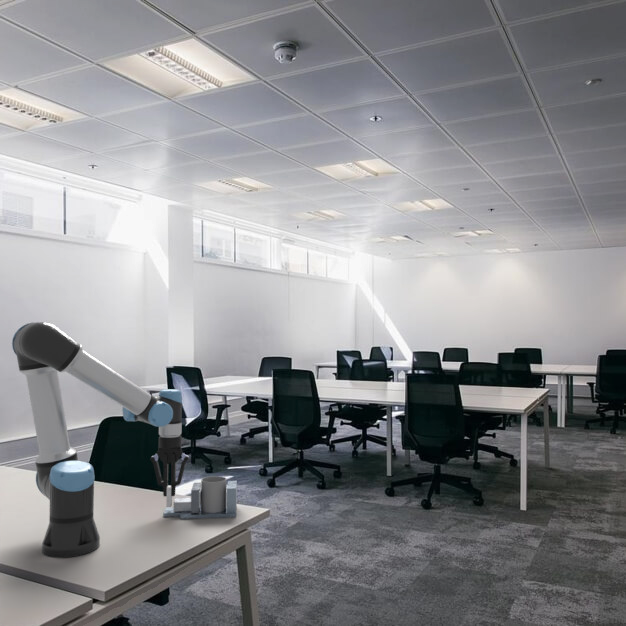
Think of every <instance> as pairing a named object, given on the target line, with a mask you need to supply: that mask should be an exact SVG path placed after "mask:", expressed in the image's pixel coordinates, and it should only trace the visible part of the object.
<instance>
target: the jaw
mask: <svg viewBox="0 0 626 626" xmlns="http://www.w3.org/2000/svg"><path fill="white" fill-rule="evenodd" d="M200 506H201V481H200V482H193V484H192V487H191V489H190V497H176V498H175V499H174V500H173V508H174V509H173V512H175V511H191V513H199V510H200Z"/></svg>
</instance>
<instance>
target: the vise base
mask: <svg viewBox="0 0 626 626" xmlns="http://www.w3.org/2000/svg"><path fill="white" fill-rule="evenodd" d="M237 488H238V487H237V480H228V481H227V484H226V509H225V510H224V511H221V512H216V513H208V512H203V511H202V510H201V506H200V510H199V513H191V511H175V512H173V509H174V507H165V509H164V511H163V518H167V517H169V518H170V517H171V516H175V517H180V520H189V518H198V519H222V518H223V519H224V518H227V519H228V518H236V517H237V503H238V502H237V499H238V498H237V497H238V496H237V494H238V493H237V490H238V489H237ZM171 518H172V517H171Z"/></svg>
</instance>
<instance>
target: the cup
mask: <svg viewBox="0 0 626 626" xmlns="http://www.w3.org/2000/svg"><path fill="white" fill-rule="evenodd" d="M200 482H201V510H202V511H203V512H208V513H216V512H221V511H224V510H225V509H226V487H227V477H225V476H221V475H220V476H218V475H217V476H216V475H215V476H206V477H203V478H201V479H200Z"/></svg>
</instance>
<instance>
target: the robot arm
mask: <svg viewBox="0 0 626 626" xmlns="http://www.w3.org/2000/svg"><path fill="white" fill-rule="evenodd" d="M11 344H12V345H11V346H12V347H11V348H12V350H13V353H14V354H15V356H16V359H17V365H18V370H19V372H20V373H22V374H24V375H25V377H26V382H27V388H28V394H29V399H30V406H31V411H32V416H33V417H32V418H33V422H34V423H33V425H34V428H35V434H36V441H37V446H38V452H39V454H38V455H37V457H36V458H35V460H34V462H35V467H36V474H35V483H36V486H37V488H38V490H39V492H40V493H41V494H42V495H43V496H45V497H46V498H47V499H48V500H49V519H48V520H49V523H48V525H47V529H46V532H45V535H44V538H43V540H42V544H41V553H42V554H43V555H44V556H47V557H51V558H72V557H77V556H83V555H85V554H89V553H91V552H93V551H95V550H97V549H98V548H99V546H100V545H101V544H100V543H101V541H100V538H101V537H100V534H99V531H98V527H97V525H96V522H95V519H94V512H95V511H94V508H95V507H94V505H95V504H94V503H95V479H96V478H95V470H94V466H93V465H92V464H90V463H89V462H86V461H81V460H79V459H78V458H79V457H78V453H77V450H76V448H75V449H74V448H73V447H71V444H70V443H71V442H70V437H69V431H68V427H67V426H68V425H67V420H66V415H65V408H64V402H63V397H62V392H61V391H62V390H61V386H60V379H59V374H58V372H59V373H68V374H69V375H71V376H72V377H74V378H75V379H77V380H79V381H80V382H83V383H84V384H85V385H87V386H88V387H90V388H92V389H93V390H94V391H97V393H100V394H101V395H103V396H104V397H106V398H108V399H110V400H111V401H113V402H114V403H116V404H118V405H120V406H121V407H122V416H123V419H124V421H126V422H138V421H139V422H142V423H146V424H149V425H152V426H154V427H156V428H157V427H158V435H159V437H158V450H157V451H156V453H155V454H154V455H152V456H151V457H150V459H149V460H150V462H151V463H152V464H153V469H154V474H155V477H156V482H157V485H158V486H161V487H162V488H163V491H162V493H163V494H162V495H163V497H166V506H165V508H172V506H173V497H175V495H176V487H177V486H179V485H181V482H182V479H183V476H184V473H185V472H184V471H185V468H186V465H187V462H188V460H189V458H190V455H188V454H185V452H184V450H183V449H182V425H183V424H182V422H183V420H182V417H183V415H182V413H183V396H182V395H183V394H182V391H181V390H180V389H174V388H173V389H172V388H171V389H170V388H169V389H167V388H166V389H161V390H159V393H158V395H156V396H154V395H152V394H151V393H149V392H148V391H146V390H145V389H143V388H142V387H140V386H138V385H137V384H135V383H134V382H133V381H131V380H130V379H127V378H126V377H125V376H123V375H121V374H120V373H119V372H117V371H115V370H114V369H113V368H110V367H109V366H108V365H106V364H105V363H104V362H102V361H100V360H98V359H97V358H96V357H94V356H92V355H91V354H90V353H88V352H87V351H85V350H84V349H83V347H82V346H83V345H82V344H81V343H80V342H78V341H77V340H76V339H74V338H72V336H70V335H68V334H67V333H66V332H64V331H63V330H62V329H61V328H59V327H58V326H57V325H54V324H53V323H50V322H42V321H41V322H39V321H37V322H30V323H26V324H24V325H22V326H21V327H20V328H19V329H17V331H16V332H14V335H13V337H12V342H11ZM180 458H181V464H180V468H179V472H178V476H177V473H176V472H177V462H178V461H179V460H180ZM159 459H160V461H161V463H162V464H163V466H162V467H163V476H162V474H161V468H160V463H159ZM169 464H170V468H171V469H170V470H171V471H170V473H171V474H170V475H171V476H170V478H171V479H170V485H169ZM176 479H177V480H176Z"/></svg>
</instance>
